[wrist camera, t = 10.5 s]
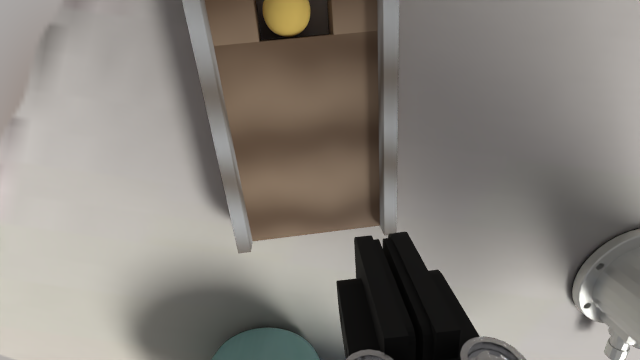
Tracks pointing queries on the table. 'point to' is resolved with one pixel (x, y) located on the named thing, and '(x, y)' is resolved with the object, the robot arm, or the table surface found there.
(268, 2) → the ball
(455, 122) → the table surface
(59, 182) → the table surface
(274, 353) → the bowl
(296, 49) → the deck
